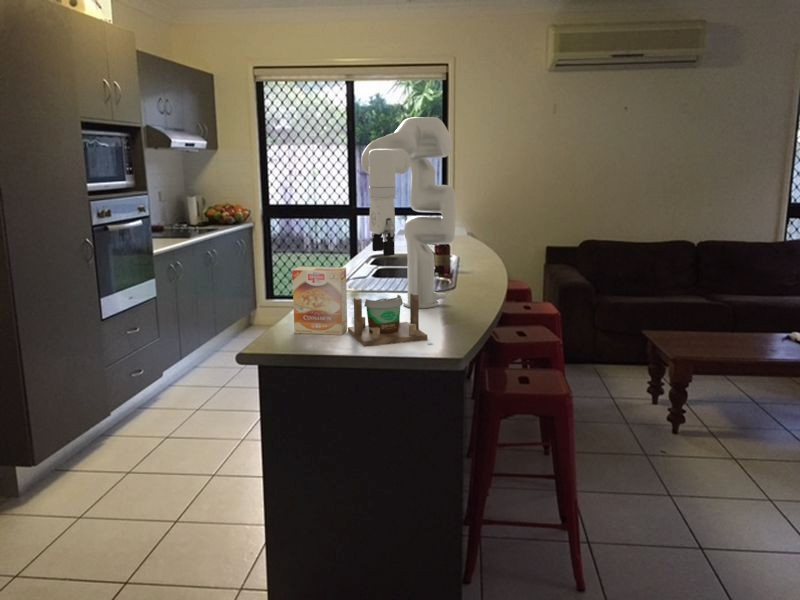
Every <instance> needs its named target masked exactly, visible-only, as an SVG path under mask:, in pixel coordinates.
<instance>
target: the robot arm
mask: <svg viewBox="0 0 800 600" xmlns="http://www.w3.org/2000/svg"><path fill="white" fill-rule="evenodd" d="M452 142H453V140H452V136H451V134H450V132H449V130H448V128H447V126H446V125H445V123H444V122H443V121H442V120H441V119H440V118H439V117H436V116H424V117H423V116H420V117H408V118H406V119H404V120H403V121H402V122H401V123H400V125H398V127H397V129H396V130H395V131H394V132H392V133H389V134H386V135H385V136H381V137H379V138H377V139H374V140H372V141H371V142H370V143H369V144H368V145H367V146H365V149H364V150H363V152H362V154H361V161H360V163H361V168H362V170H363V171H364V173H366V174H368V188H369V189H368V190H369V191H368V193H369V195H368V196H369V200H370V202H369V203H370V204H369V219H368V220H369V223H368V225H369V226H368V228H369V231H370V232H371V233H372V234H371V236H372V239H371V240H372V241H371V243H372V249H371V250H372V251H373V252H383V253H382V255H383V256H384V257H387V256H388V257H389V256H395V241H396V238H395V237H396V233H395V232H396V216H395V214H396V213H395V201H394V199H396V197H397V196H396V192H397V191H396V189H397V188H396V185H397V183H396V181H397V180H396V176H397V175H398V176H399V175H403V174H406V173H407V172H408V171H409V170H410V194H409V195H410V197H409V199H410V201H409V203H410V207H411V209H412V210H413V211H415V212H417V213H438V214H441V216H430V215H428V216H427V215H426V216H425V215H416V216H411V217H410V218H408V219H407V220H406V221H405V223H404V234H405V235H404V236H405V241H406V252H407V253H406V255H407V262H406V263H407V299H405V300H403V301H402V302H403V304H402V306H404V307H406V308H410V293H416V294H418V295H419V309H431V308H435V307H438V306H439V300H443V299H444V300H445V299H447V298H448V294H447V293H446V292H443V293H440V292H436V291H435V255H434V252H433V251H432V249H431V248H430V246H429V245H448V244H449V245H450V244H451V243H453V241H454V239H455V236H456V233H455V232H456V215H457V214H456V211H457V196H456V191H455V189H454V187H452V186H451V185H449V184H436V169H435V166H434V165H433V163H432V162H431V161H430V160H429V159H428V158H435V159H436V158H446V157H449V156H450V154H451V152H452V150H453V149H452V148H453V143H452Z"/></svg>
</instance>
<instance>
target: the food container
mask: <svg viewBox="0 0 800 600" xmlns="http://www.w3.org/2000/svg"><path fill="white" fill-rule="evenodd" d="M403 302H404V301H403V298H402V296H401V295H400V294H397V297H393V298H379V299H377V300H373V299H367V298H366V299H365V301H364V307H366V315H367V325H368V326H369V332H370V333H373V328H375V327H378V328H380V334H390V333H395V332H397V331H398V330H399V318H401V317H400V315H401V306H403Z"/></svg>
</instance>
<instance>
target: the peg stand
mask: <svg viewBox="0 0 800 600" xmlns="http://www.w3.org/2000/svg"><path fill="white" fill-rule="evenodd" d="M362 309H363V301H362V298H360V297H359V296H358V297H357V296H355V297H353V326H347V332H348V333H349V335H351V336H352V337H353V338H354V339H355V338H356V339H355V340H357V341H358V342H359V343H360V344H361V345H362V346H363V347H373V346H380V345H381V346H382V345H392V344H391V343H393V344H401V343H400V342H403V343H411V342H410V341H413V342H421V340H423V341H428V334H427V333H425V332H423V331H422V330H421V329H420V328H419V326H420V325H419V319H420V318H419V315H420V314H419V312H420V311H419V310H420V308H419V295H418V294H416V293H410V307H409V311H410V312H409V313H410V316H409V317H410V319H409V320H410V321H409V322H408V321H403V322H402V321H400V318H401V317H400V318H399V330H398V331H397V332H395V333H390V334H380V328H378V327H375V328H373V333H370V332H369V326H368V324H367V325H366V317H365V316H363V310H362Z"/></svg>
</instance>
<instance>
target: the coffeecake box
mask: <svg viewBox="0 0 800 600" xmlns="http://www.w3.org/2000/svg"><path fill="white" fill-rule="evenodd" d="M291 271H292V272H291V273H292V298H293V299H292V301H293V303H292V304H293V324H294V325H293V327H294V328H293V329H294V334H300V333H301V334H305V335H306V334H307V335H327V334H330V335H329V336H332V335H333V336H343V335H344V333H345V332H347V331H348V300H347V299H348V297H347V294H348V292H347V289H348V288H347V268H346V267H334V266H333V267H331V266H330V267H329V266H325V267H324V266H297V267H295V268H293V269H292V270H291ZM342 334H343V335H342Z"/></svg>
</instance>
